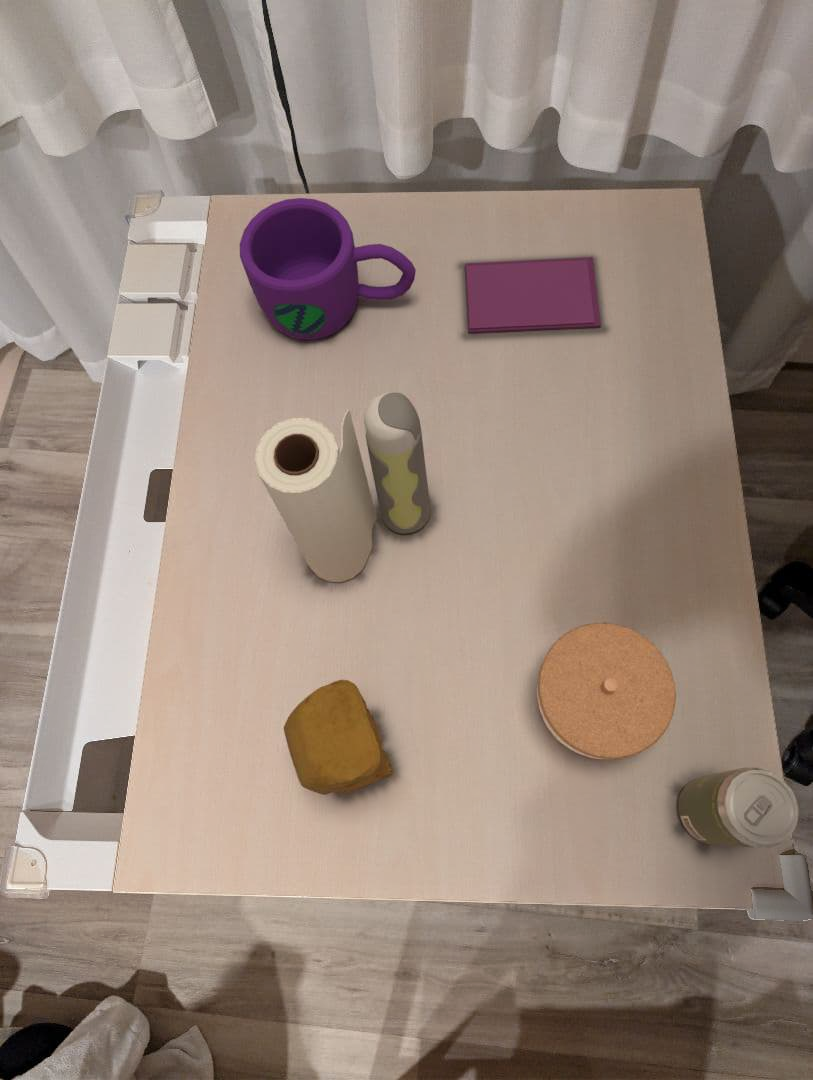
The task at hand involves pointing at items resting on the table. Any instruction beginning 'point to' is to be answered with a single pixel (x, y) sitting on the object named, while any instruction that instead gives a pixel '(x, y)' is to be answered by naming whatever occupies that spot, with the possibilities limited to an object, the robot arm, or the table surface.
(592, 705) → the trinket box
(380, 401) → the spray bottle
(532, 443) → the table surface
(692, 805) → the beer can
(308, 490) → the paper towel roll
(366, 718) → the wooden tiki figurine
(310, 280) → the mug
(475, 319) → the flat purple rectangular slab
